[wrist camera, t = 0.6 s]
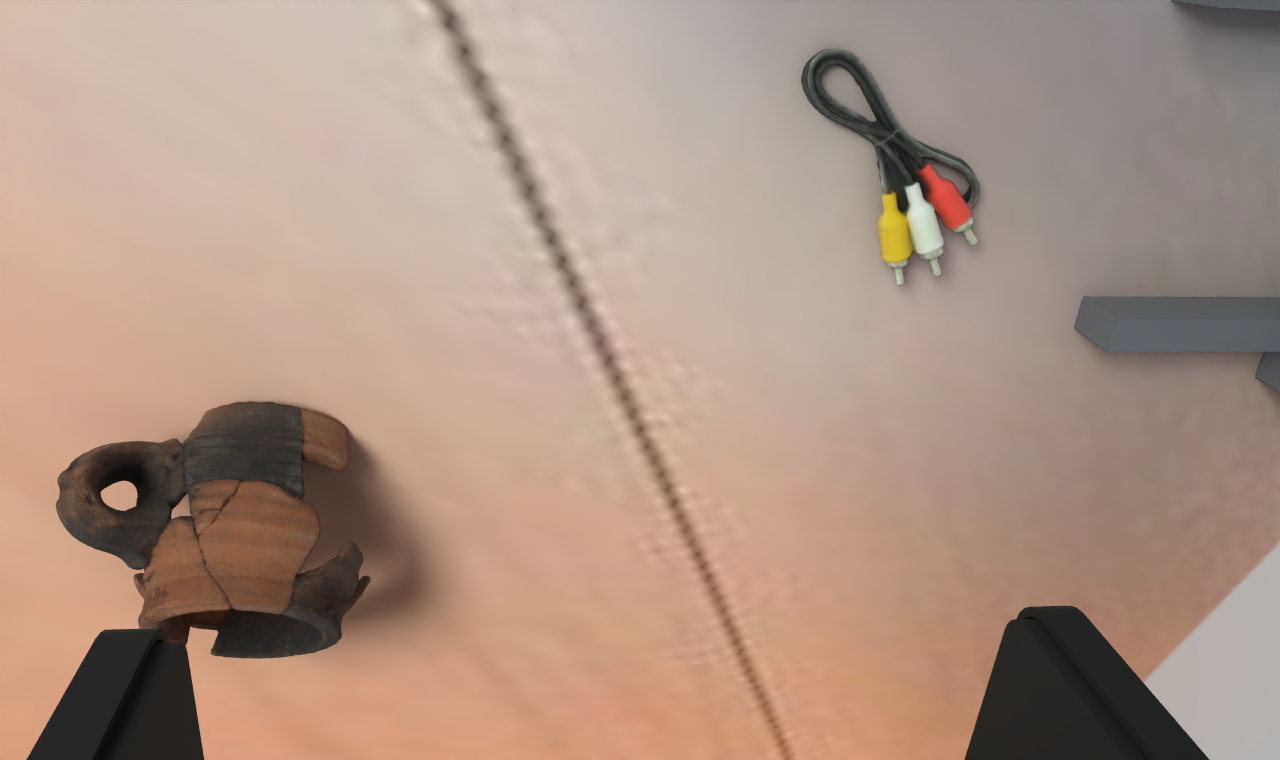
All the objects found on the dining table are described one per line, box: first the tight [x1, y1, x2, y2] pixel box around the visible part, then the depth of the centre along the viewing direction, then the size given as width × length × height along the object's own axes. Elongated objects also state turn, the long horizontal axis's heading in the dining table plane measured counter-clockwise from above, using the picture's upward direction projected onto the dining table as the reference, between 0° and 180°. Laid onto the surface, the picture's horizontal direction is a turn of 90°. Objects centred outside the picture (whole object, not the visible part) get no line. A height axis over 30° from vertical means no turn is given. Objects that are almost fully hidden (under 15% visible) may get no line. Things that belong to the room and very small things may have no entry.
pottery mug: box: [56, 402, 370, 659], centre depth 37 cm, size 12×10×8 cm
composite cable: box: [801, 49, 980, 285], centre depth 36 cm, size 10×5×2 cm, turn 30°
